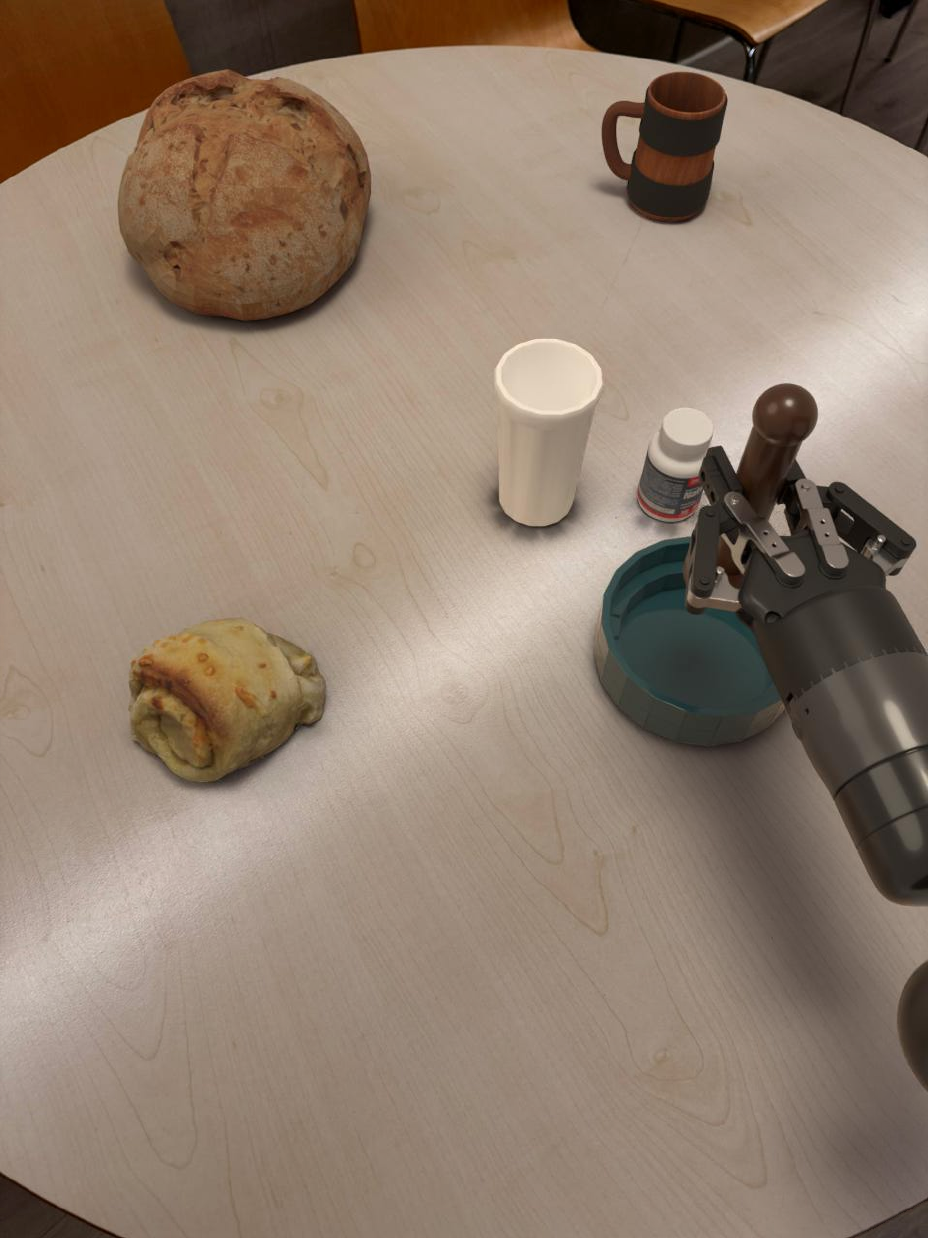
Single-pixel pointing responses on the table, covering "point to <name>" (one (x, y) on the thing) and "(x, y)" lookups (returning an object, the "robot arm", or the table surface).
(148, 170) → the bread
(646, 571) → the bowl
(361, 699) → the table surface
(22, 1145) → the table surface
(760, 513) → the pestle
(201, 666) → the pastry
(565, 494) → the cup
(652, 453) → the pill bottle
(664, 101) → the mug
